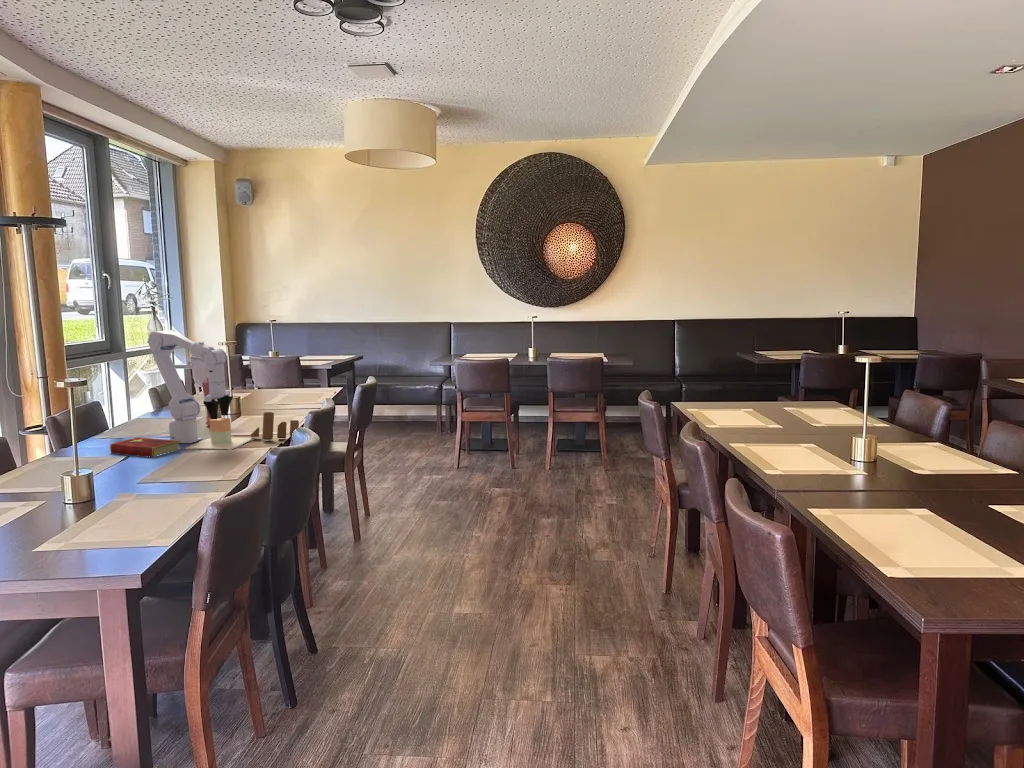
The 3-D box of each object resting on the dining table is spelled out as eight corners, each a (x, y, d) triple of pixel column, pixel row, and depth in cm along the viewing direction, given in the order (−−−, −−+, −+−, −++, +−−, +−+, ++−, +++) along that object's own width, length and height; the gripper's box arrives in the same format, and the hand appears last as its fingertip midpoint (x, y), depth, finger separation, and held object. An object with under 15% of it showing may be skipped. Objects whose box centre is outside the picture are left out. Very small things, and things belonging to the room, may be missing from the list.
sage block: (211, 443, 262) (210, 432, 261) (216, 441, 266) (216, 429, 265) (226, 443, 261) (225, 432, 261) (231, 441, 265) (230, 429, 265)
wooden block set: (298, 441, 276) (299, 415, 278) (297, 438, 268) (298, 412, 270) (250, 441, 272) (252, 415, 274) (247, 438, 263) (249, 411, 266)
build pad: (185, 449, 256) (185, 447, 256) (211, 438, 274) (211, 437, 273) (231, 449, 254) (231, 448, 254) (255, 439, 272) (255, 437, 271)
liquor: (216, 427, 295) (212, 362, 291) (201, 427, 297) (196, 362, 293) (227, 424, 302) (222, 360, 298) (212, 423, 304) (207, 360, 300)
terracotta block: (210, 432, 261) (209, 420, 261) (216, 429, 265) (215, 418, 265) (225, 432, 261) (224, 420, 260) (230, 429, 265) (229, 418, 264)
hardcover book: (153, 458, 244) (152, 447, 243) (110, 454, 252) (109, 443, 251) (180, 451, 255) (179, 440, 254) (139, 447, 263) (138, 436, 262)
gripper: (216, 384, 253) (219, 421, 255) (236, 379, 267) (239, 413, 269) (198, 384, 254) (201, 420, 255) (219, 379, 268) (221, 413, 270)
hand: (219, 417), depth 262 cm, fingers open, 7 cm apart
